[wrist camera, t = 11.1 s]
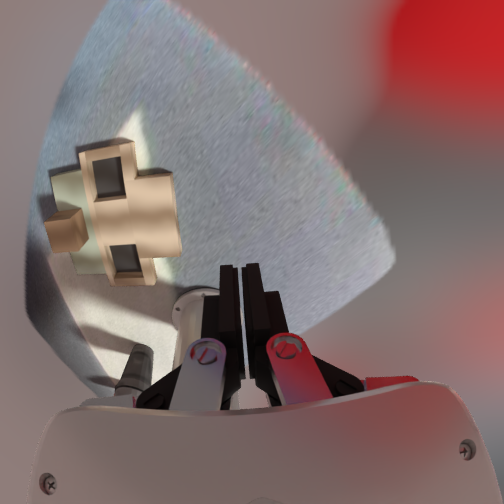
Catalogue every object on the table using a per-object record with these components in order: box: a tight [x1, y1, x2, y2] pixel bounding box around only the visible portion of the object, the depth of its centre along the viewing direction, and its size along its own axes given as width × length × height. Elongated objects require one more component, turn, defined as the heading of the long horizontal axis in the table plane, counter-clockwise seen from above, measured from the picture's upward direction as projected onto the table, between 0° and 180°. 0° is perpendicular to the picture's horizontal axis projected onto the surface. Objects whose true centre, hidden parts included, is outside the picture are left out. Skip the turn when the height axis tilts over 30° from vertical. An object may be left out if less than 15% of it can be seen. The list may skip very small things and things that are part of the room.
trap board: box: [51, 142, 182, 286], centre depth 37 cm, size 22×19×2 cm
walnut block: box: [44, 208, 89, 253], centre depth 34 cm, size 5×5×4 cm
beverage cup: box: [115, 344, 154, 396], centre depth 44 cm, size 7×7×20 cm
